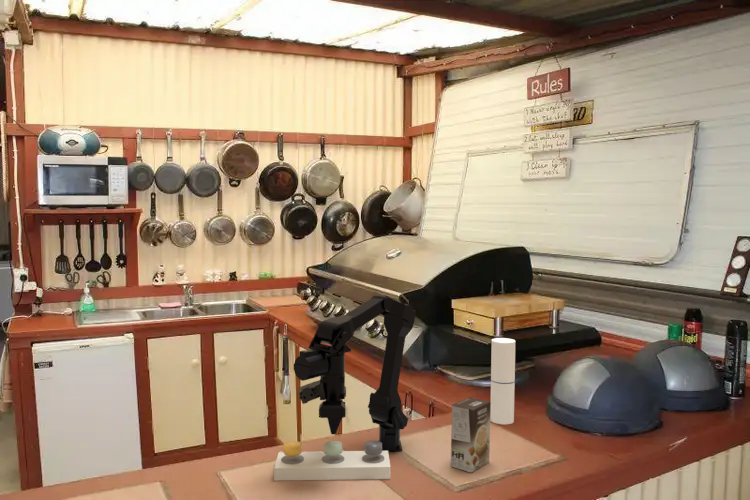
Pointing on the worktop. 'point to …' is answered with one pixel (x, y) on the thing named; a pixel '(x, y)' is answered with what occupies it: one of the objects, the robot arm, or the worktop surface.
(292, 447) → the button amber
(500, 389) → the cylindrical container
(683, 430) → the worktop surface
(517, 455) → the worktop surface
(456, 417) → the coffee box
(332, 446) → the button sage
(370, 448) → the button charcoal
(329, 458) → the button panel
